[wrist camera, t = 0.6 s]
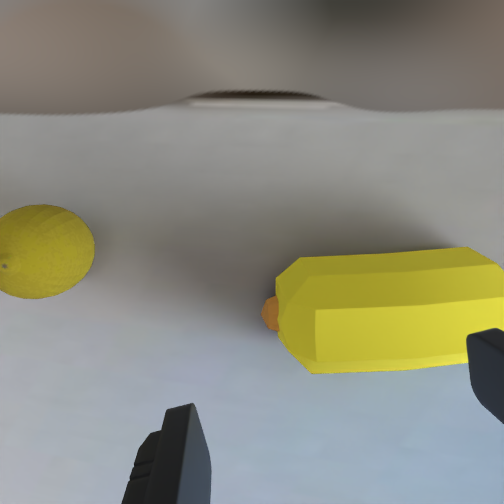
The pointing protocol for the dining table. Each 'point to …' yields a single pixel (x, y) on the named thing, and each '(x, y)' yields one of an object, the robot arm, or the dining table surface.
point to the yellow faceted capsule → (385, 309)
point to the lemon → (43, 251)
